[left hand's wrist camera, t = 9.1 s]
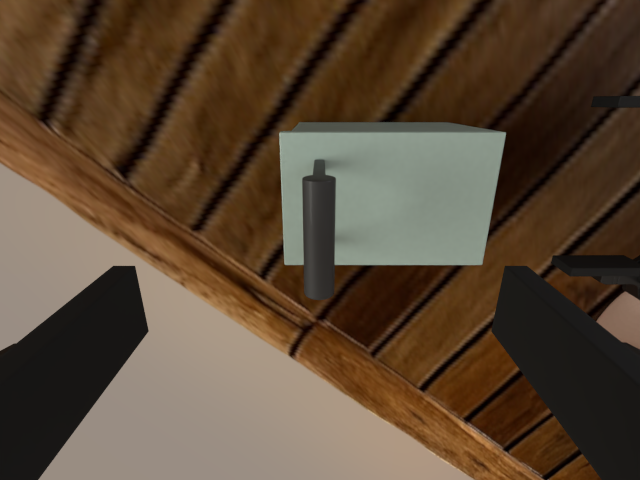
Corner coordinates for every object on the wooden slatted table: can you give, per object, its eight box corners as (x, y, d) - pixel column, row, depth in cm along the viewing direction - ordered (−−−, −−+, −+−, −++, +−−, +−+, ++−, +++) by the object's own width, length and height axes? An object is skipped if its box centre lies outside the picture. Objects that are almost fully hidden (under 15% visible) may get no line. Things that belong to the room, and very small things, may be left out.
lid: (285, 259, 28) (271, 325, 20) (280, 131, 24) (260, 146, 16) (476, 259, 28) (541, 325, 20) (499, 131, 24) (589, 146, 16)
